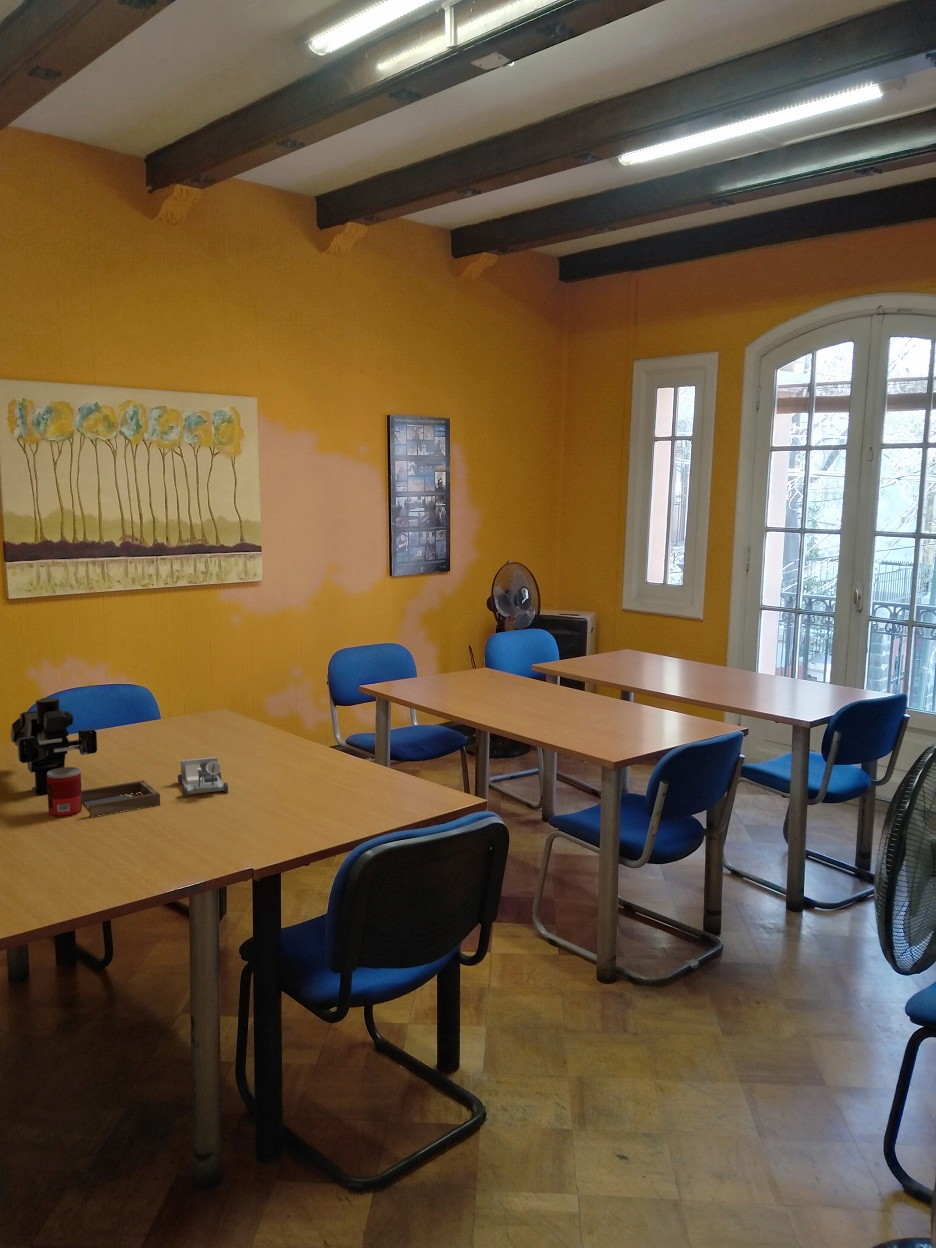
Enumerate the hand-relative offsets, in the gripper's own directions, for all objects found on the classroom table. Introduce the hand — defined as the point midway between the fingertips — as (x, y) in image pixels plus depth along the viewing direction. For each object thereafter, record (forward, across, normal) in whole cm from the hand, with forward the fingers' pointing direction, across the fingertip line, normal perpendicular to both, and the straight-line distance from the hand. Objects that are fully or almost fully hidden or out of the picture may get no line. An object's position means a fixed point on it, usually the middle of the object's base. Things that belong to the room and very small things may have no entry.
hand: (65, 752), depth 237 cm
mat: (-3, +12, +16) cm, 21 cm away
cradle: (-3, +12, +16) cm, 21 cm away
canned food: (-3, 0, +17) cm, 17 cm away
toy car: (-3, +36, +17) cm, 40 cm away
